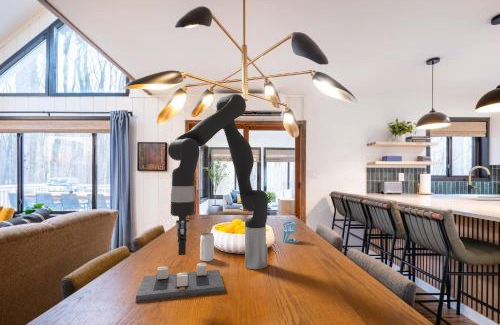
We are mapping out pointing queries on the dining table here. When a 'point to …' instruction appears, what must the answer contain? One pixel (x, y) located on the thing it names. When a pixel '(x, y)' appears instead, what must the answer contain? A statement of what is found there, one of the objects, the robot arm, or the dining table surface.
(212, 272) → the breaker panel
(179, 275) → the breaker
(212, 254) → the can
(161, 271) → the breaker
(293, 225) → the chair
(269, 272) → the dining table surface
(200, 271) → the breaker
